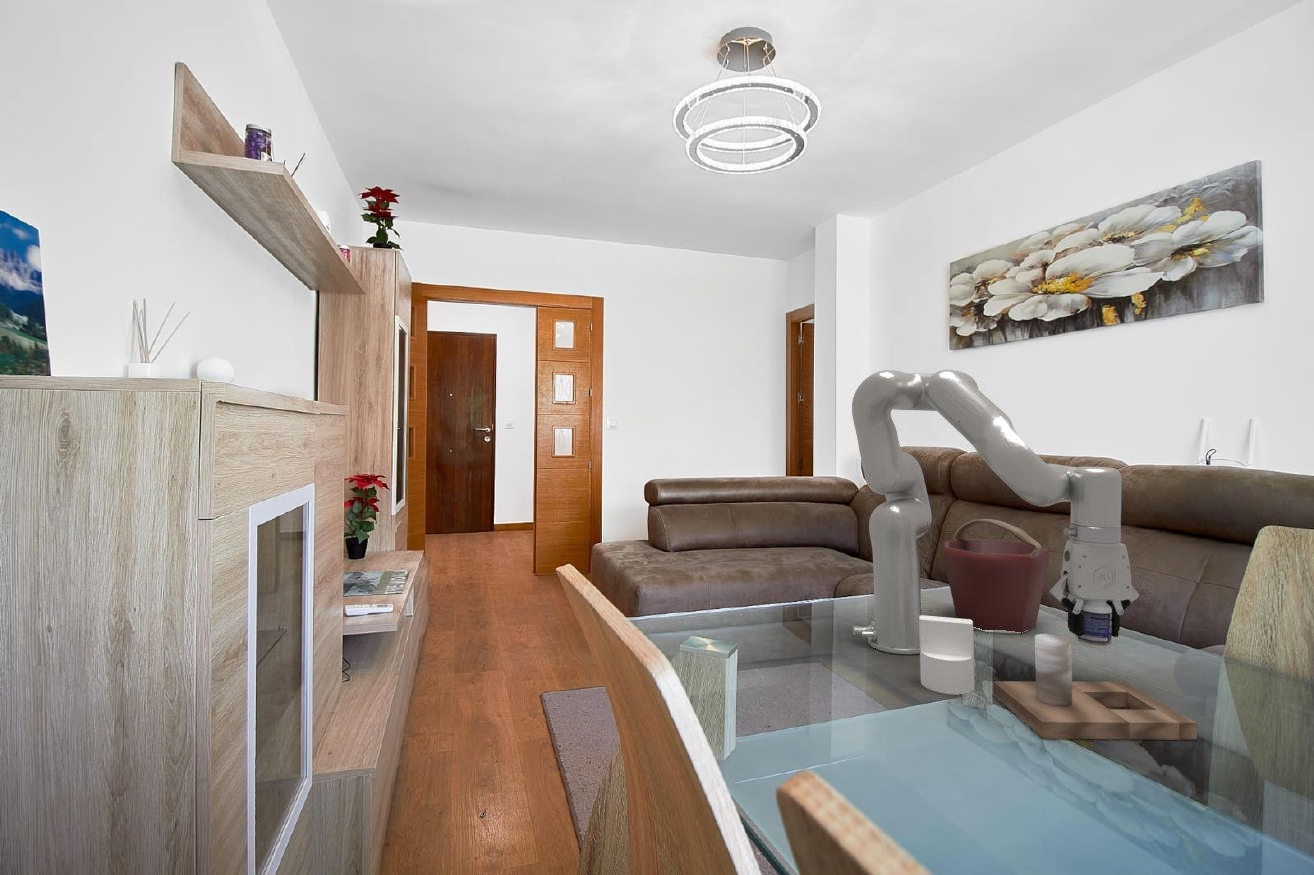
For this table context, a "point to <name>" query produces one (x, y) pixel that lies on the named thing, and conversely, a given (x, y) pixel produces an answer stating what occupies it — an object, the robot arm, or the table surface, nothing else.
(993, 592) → the bucket
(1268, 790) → the table surface
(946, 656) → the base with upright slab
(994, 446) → the robot arm
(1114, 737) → the pin board
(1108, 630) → the pill bottle
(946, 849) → the table surface
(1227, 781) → the table surface
